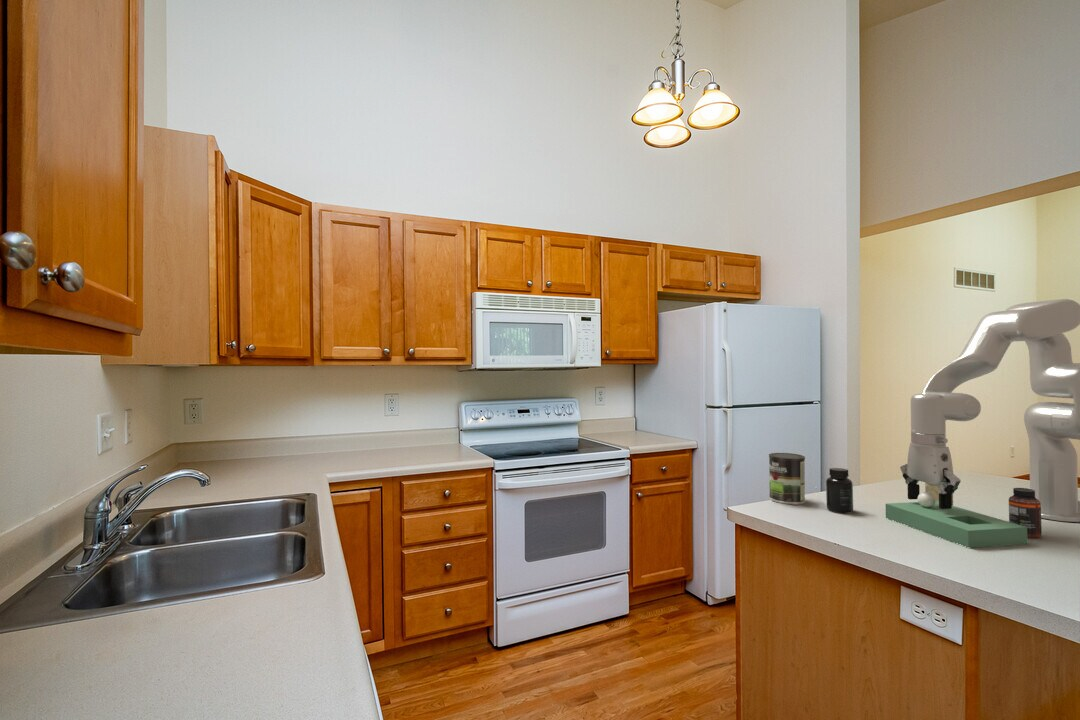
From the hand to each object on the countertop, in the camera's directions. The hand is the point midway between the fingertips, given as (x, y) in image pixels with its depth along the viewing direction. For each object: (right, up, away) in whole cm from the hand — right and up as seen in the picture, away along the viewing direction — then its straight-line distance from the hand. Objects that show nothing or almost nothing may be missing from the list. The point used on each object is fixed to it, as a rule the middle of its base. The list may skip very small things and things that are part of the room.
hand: (929, 503), depth 141 cm
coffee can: (-27, -6, +24) cm, 36 cm away
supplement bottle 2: (+16, -5, -10) cm, 20 cm away
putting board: (+1, -5, -6) cm, 8 cm away
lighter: (+12, -5, +13) cm, 18 cm away
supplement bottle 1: (-17, -6, +12) cm, 22 cm away
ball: (0, +1, +1) cm, 1 cm away
